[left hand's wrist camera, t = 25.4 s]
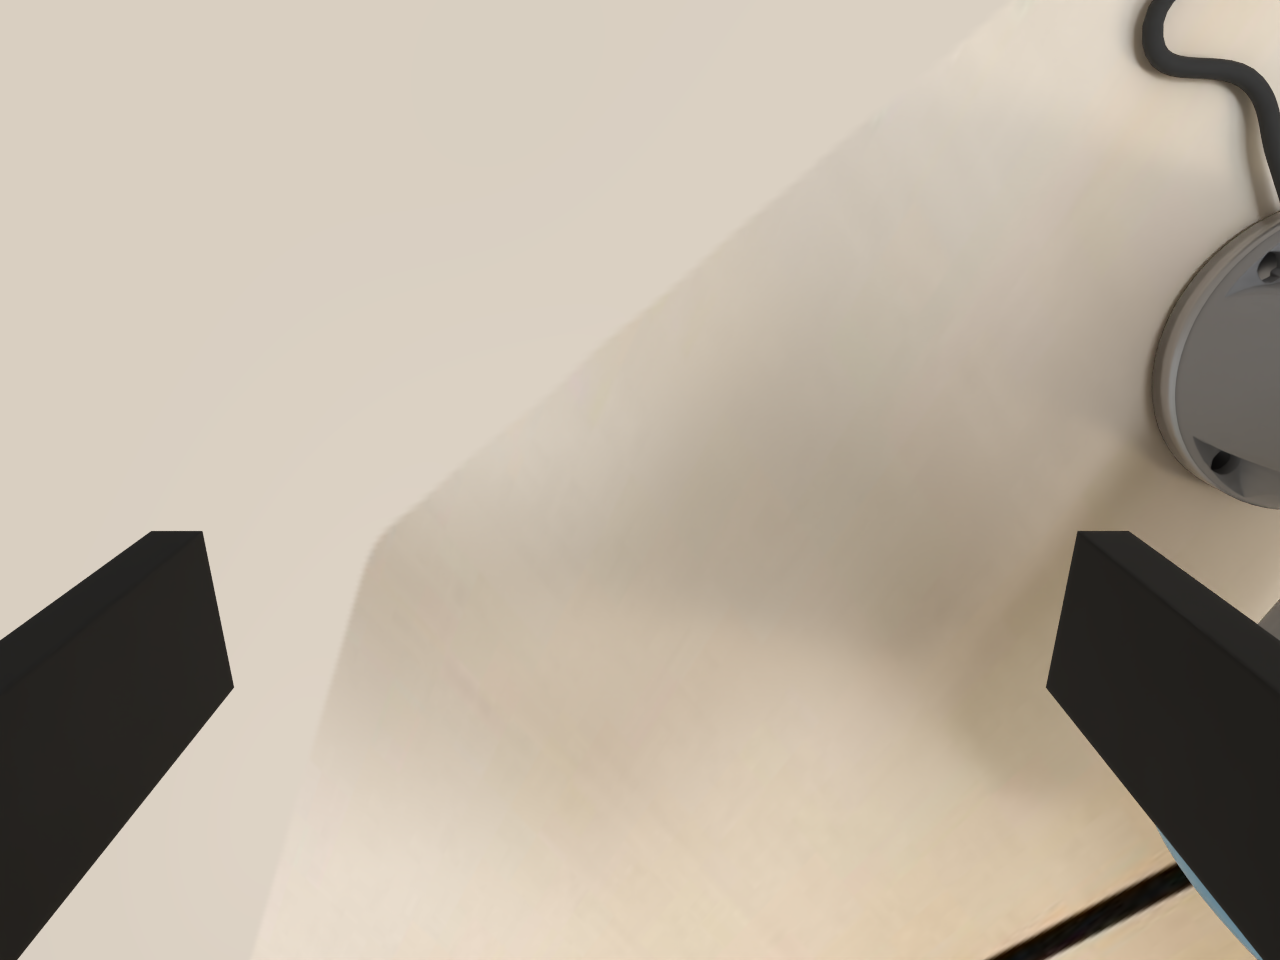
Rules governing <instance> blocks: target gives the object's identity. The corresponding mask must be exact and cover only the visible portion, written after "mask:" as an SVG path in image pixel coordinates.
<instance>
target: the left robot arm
mask: <svg viewBox="0 0 1280 960" xmlns="http://www.w3.org/2000/svg"><path fill="white" fill-rule="evenodd" d="M1174 1H1175V0H1153V1H1152V3H1151V4H1150V6H1149V7H1148V10H1147V13H1146V16H1145V19H1144V22H1143V26H1142V45H1143V48H1144V52H1145V56H1146V57H1147V59H1148V60H1149V62H1150V63H1151V65H1152V66H1153V67H1154V68H1156V69H1157V70H1158V71H1160V72H1162V73H1164V74H1167V75H1170V76H1175V77H1182V78H1200V79H1215V80H1222V81H1226V82H1230V83H1233V84H1235V85H1237V86H1239V87H1240V88H1241V89H1242V90H1243V91H1244V92H1246V94H1247V95H1248V96H1249V98H1250V99H1251V101H1252V103H1253V105H1254V107H1255V110H1256V113H1257V117H1258V121H1259V127H1260V133H1261V138H1262V144H1263V148H1264V153H1265V156H1266V159H1267V163H1268V166H1269V169H1270V172H1271V175H1272V178H1273V182H1274V185H1275V188H1276V191H1277V195H1278V198H1279V201H1280V112H1279V107H1278V104H1277V101H1276V98H1275V95H1274V93H1273V91H1272V89H1271V88H1270V86H1269V84H1268V83H1267V82H1266V80H1265V79H1264V78H1263V77H1262V76H1261V75H1260V74H1259V73H1258V72H1257V71H1256V70H1254V69H1253V68H1251V67H1249V66H1247V65H1245V64H1243V63H1239V62H1236V61H1232V60H1225V59H1213V58H1193V57H1185V56H1179V55H1177V54H1174V53H1172V52H1171V51H1169V50H1168V48H1167V47H1166V45H1165V42H1164V38H1163V23H1164V20H1165V17H1166V14H1167V11H1168V10H1169V8H1170V7H1171V5H1172V4H1173V2H1174ZM1152 397H1153V406H1154V412H1155V417H1156V420H1157V423H1158V427H1159V429H1160V432H1161V434H1162V436H1163V439H1164V441H1165V442H1166V444H1167V446H1168V448H1169V449H1170V451H1171V452H1172V453H1173V455H1174V456H1175V457H1176V459H1177V460H1178V461H1179V462H1180V463H1181V464H1182V465H1183V466H1184V467H1185V468H1186V469H1187V470H1188V471H1190V472H1191V473H1192V474H1193V475H1195V476H1196V477H1198V478H1199V479H1201V480H1202V481H1204V482H1206V483H1207V484H1209V485H1211V486H1213V487H1215V488H1217V489H1218V490H1220V491H1222V492H1224V493H1226V494H1228V495H1230V496H1232V497H1234V498H1236V499H1238V500H1240V501H1243V502H1246V503H1249V504H1252V505H1256V506H1260V507H1264V508H1271V509H1279V510H1280V212H1277V213H1275V214H1273V215H1271V216H1269V217H1267V218H1265V219H1263V220H1262V221H1260V222H1258V223H1256V224H1255V225H1253V226H1251V227H1250V228H1248V229H1247V230H1245V231H1244V232H1242V233H1241V234H1239V235H1238V236H1237V237H1235V238H1234V239H1233V240H1232V241H1230V242H1229V243H1228V244H1227V245H1225V246H1224V247H1223V248H1222V249H1221V250H1220V251H1219V252H1218V253H1217V254H1215V255H1214V256H1213V257H1212V258H1211V259H1210V260H1209V261H1208V262H1207V264H1206V265H1205V266H1204V267H1203V268H1202V269H1201V270H1200V271H1199V272H1198V274H1197V275H1196V276H1195V277H1194V279H1193V280H1192V281H1191V282H1190V284H1189V285H1188V286H1187V288H1186V289H1185V291H1184V292H1183V294H1182V295H1181V297H1180V298H1179V300H1178V302H1177V303H1176V305H1175V307H1174V309H1173V311H1172V312H1171V314H1170V316H1169V319H1168V321H1167V323H1166V325H1165V328H1164V330H1163V333H1162V336H1161V339H1160V341H1159V344H1158V348H1157V352H1156V356H1155V362H1154V368H1153V378H1152ZM233 688H234V685H233V680H232V675H231V670H230V666H229V661H228V656H227V650H226V646H225V641H224V636H223V631H222V626H221V621H220V616H219V611H218V606H217V601H216V596H215V591H214V586H213V581H212V576H211V571H210V566H209V562H208V557H207V552H206V547H205V542H204V537H203V532H202V531H151V532H149V533H148V534H147V535H145V536H144V537H143V538H141V539H140V540H138V541H137V542H136V543H134V544H133V545H132V546H130V547H129V548H127V549H126V550H125V551H123V552H122V553H120V554H119V555H118V556H116V557H115V558H114V559H112V560H111V561H109V562H108V563H107V564H105V565H104V566H102V567H101V568H100V569H98V570H97V571H96V572H94V573H93V574H91V575H90V576H89V577H87V578H86V579H84V580H83V581H82V582H80V583H79V584H78V585H76V586H75V587H73V588H72V589H71V590H69V591H68V592H67V593H65V594H64V595H62V596H61V597H60V598H58V599H57V600H55V601H54V602H53V603H51V604H50V605H49V606H47V607H46V608H44V609H43V610H42V611H40V612H39V613H38V614H36V615H35V616H33V617H32V618H31V619H29V620H28V621H26V622H25V623H24V624H22V625H21V626H20V627H18V628H17V629H15V630H14V631H13V632H11V633H10V634H9V635H7V636H6V637H4V638H3V639H2V640H0V960H17V959H18V958H19V957H20V956H21V954H22V953H23V952H24V950H25V949H26V948H27V947H28V945H29V944H30V943H31V942H32V940H33V939H34V938H35V937H36V935H37V934H38V933H39V932H40V930H41V929H42V928H43V927H44V925H45V924H46V923H47V922H48V920H49V919H50V918H51V917H52V915H53V914H54V913H55V912H56V910H57V909H58V908H59V907H60V905H61V904H62V903H63V902H64V900H65V899H66V898H67V897H68V895H69V894H70V893H71V892H72V890H73V889H74V888H75V886H76V885H77V884H78V883H79V881H80V880H81V879H82V878H83V876H84V875H85V874H86V873H87V871H88V870H89V869H90V868H91V866H92V865H93V864H94V863H95V861H96V860H97V859H98V857H99V856H100V855H101V854H102V853H103V851H104V850H105V849H106V848H107V846H108V845H109V844H110V842H111V841H112V840H113V839H114V838H115V836H116V835H117V834H118V832H119V831H120V830H121V829H122V827H123V826H124V825H125V824H126V822H127V821H128V820H129V819H130V817H131V816H132V815H133V814H134V812H135V811H136V810H137V809H138V807H139V806H140V805H141V804H142V802H143V801H144V800H145V799H146V797H147V796H148V795H149V794H150V792H151V791H152V790H153V788H154V787H155V786H156V785H157V784H158V782H159V781H160V780H161V778H162V777H163V776H164V775H165V773H166V772H167V771H168V770H169V768H170V767H171V766H172V765H173V763H174V762H175V761H176V760H177V758H178V757H179V756H180V755H181V753H182V752H183V751H184V750H185V748H186V747H187V746H188V745H189V743H190V742H191V741H192V740H193V738H194V737H195V736H196V735H197V733H198V732H199V731H200V730H201V728H202V727H203V726H204V724H205V723H206V722H207V721H208V719H209V718H210V717H211V716H212V714H213V713H214V712H215V711H216V709H217V708H218V707H219V706H220V704H221V703H222V702H223V701H224V699H225V698H226V697H227V696H228V694H229V693H230V692H231V691H232V689H233ZM1046 688H1047V689H1048V691H1049V692H1050V693H1051V694H1052V696H1053V697H1054V698H1055V699H1056V701H1057V702H1058V703H1059V704H1060V706H1061V707H1062V708H1063V709H1064V711H1065V712H1066V713H1067V714H1068V716H1069V717H1070V718H1071V719H1072V721H1073V722H1074V723H1075V724H1076V726H1077V727H1078V728H1079V730H1080V731H1081V732H1082V733H1083V735H1084V736H1085V737H1086V738H1087V740H1088V741H1089V742H1090V743H1091V745H1092V746H1093V747H1094V748H1095V750H1096V751H1097V752H1098V753H1099V755H1100V756H1101V757H1102V758H1103V760H1104V761H1105V762H1106V763H1107V765H1108V766H1109V767H1110V768H1111V770H1112V771H1113V772H1114V773H1115V775H1116V776H1117V777H1118V778H1119V780H1120V781H1121V782H1122V784H1123V785H1124V786H1125V787H1126V789H1127V790H1128V791H1129V792H1130V794H1131V795H1132V796H1133V797H1134V799H1135V800H1136V801H1137V802H1138V804H1139V805H1140V806H1141V807H1142V809H1143V810H1144V811H1145V812H1146V814H1147V815H1148V816H1149V817H1150V819H1151V820H1152V821H1153V822H1154V824H1155V825H1156V827H1157V829H1158V831H1159V833H1160V835H1161V837H1162V839H1163V841H1164V843H1165V844H1166V846H1167V848H1168V849H1169V851H1170V853H1171V854H1172V856H1173V857H1174V859H1175V861H1176V862H1177V864H1178V865H1179V867H1180V868H1181V869H1182V871H1183V872H1184V874H1185V875H1186V877H1187V878H1188V879H1189V881H1190V882H1191V884H1192V885H1193V886H1194V888H1195V889H1196V890H1197V891H1198V893H1199V894H1200V895H1201V897H1202V898H1203V899H1204V900H1205V902H1206V903H1207V904H1208V905H1209V906H1210V908H1211V909H1212V910H1213V911H1214V913H1215V914H1216V915H1217V916H1218V917H1219V918H1220V920H1221V921H1222V922H1223V923H1224V924H1225V925H1226V926H1227V928H1228V929H1229V930H1230V931H1231V932H1232V933H1233V934H1234V935H1235V937H1236V938H1237V939H1238V940H1239V941H1240V942H1241V943H1242V944H1243V945H1244V946H1245V947H1246V948H1247V949H1248V950H1249V951H1250V952H1251V953H1252V955H1253V956H1254V957H1255V958H1256V959H1257V960H1280V599H1279V600H1278V602H1277V603H1276V604H1275V605H1274V606H1273V607H1272V608H1271V610H1270V611H1269V612H1268V613H1267V614H1266V615H1265V616H1264V618H1263V619H1262V620H1261V621H1260V622H1259V623H1258V624H1256V623H1255V622H1254V621H1252V620H1251V619H1249V618H1248V617H1247V616H1245V615H1244V614H1243V613H1241V612H1240V611H1238V610H1237V609H1236V608H1234V607H1233V606H1231V605H1230V604H1229V603H1227V602H1226V601H1225V600H1223V599H1222V598H1220V597H1219V596H1218V595H1216V594H1215V593H1213V592H1212V591H1211V590H1209V589H1208V588H1207V587H1205V586H1204V585H1202V584H1201V583H1200V582H1198V581H1197V580H1196V579H1194V578H1193V577H1191V576H1190V575H1189V574H1187V573H1186V572H1184V571H1183V570H1182V569H1180V568H1179V567H1178V566H1176V565H1175V564H1173V563H1172V562H1171V561H1169V560H1168V559H1166V558H1165V557H1164V556H1162V555H1161V554H1160V553H1158V552H1157V551H1155V550H1154V549H1153V548H1151V547H1150V546H1149V545H1147V544H1146V543H1144V542H1143V541H1142V540H1140V539H1139V538H1137V537H1136V536H1135V535H1133V534H1132V533H1131V532H1129V531H1078V532H1077V537H1076V542H1075V547H1074V552H1073V556H1072V561H1071V566H1070V571H1069V576H1068V581H1067V586H1066V591H1065V596H1064V601H1063V606H1062V611H1061V616H1060V621H1059V626H1058V631H1057V636H1056V641H1055V646H1054V650H1053V655H1052V660H1051V665H1050V670H1049V675H1048V680H1047V685H1046Z"/></svg>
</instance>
